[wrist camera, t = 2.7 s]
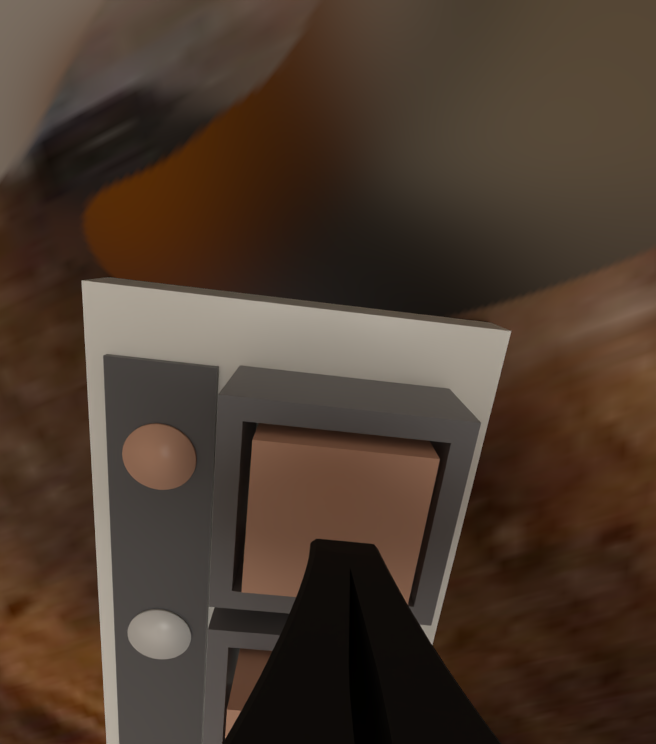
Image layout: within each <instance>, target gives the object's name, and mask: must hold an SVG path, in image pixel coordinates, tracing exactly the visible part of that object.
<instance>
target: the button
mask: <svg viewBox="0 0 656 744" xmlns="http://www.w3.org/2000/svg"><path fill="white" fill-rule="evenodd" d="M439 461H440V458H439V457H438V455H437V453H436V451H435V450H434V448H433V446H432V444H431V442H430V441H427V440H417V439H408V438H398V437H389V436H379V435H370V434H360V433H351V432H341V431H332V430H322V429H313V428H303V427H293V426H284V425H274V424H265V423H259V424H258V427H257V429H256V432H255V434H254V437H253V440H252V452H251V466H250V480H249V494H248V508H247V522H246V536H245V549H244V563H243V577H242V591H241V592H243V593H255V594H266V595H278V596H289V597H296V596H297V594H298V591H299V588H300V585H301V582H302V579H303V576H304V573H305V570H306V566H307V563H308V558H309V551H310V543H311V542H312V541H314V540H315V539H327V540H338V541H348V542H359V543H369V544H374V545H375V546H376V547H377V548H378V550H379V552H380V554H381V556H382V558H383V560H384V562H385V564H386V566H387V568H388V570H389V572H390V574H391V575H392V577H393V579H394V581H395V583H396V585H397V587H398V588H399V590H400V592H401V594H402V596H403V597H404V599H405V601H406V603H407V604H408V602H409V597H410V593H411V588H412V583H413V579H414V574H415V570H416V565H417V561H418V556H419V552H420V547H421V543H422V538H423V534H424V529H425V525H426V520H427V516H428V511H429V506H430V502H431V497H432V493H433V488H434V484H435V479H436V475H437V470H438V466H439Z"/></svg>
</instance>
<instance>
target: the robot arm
mask: <svg viewBox="0 0 656 744" xmlns="http://www.w3.org/2000/svg"><path fill="white" fill-rule="evenodd" d="M222 744H501V743H500V741H499V740H498V739H497V737H496V736H495V735H494V733H493V732H492V731H491V730H490V728H489V727H488V725H487V724H486V723H485V721H484V720H483V719H482V717H481V716H480V715H479V713H478V712H477V710H476V709H475V708H474V706H473V705H472V703H471V702H470V701H469V699H468V698H467V696H466V695H465V694H464V692H463V691H462V689H461V688H460V686H459V685H458V683H457V682H456V680H455V679H454V677H453V676H452V674H451V673H450V671H449V670H448V669H447V667H446V666H445V664H444V663H443V661H442V659H441V658H440V656H439V655H438V653H437V652H436V650H435V649H434V647H433V646H432V644H431V642H430V641H429V639H428V637H427V636H426V634H425V633H424V631H423V629H422V628H421V626H420V624H419V623H418V621H417V619H416V618H415V616H414V615H413V613H412V611H411V609H410V608H409V606H408V604H407V603H406V601H405V599H404V597H403V596H402V594H401V592H400V590H399V588H398V587H397V585H396V583H395V581H394V579H393V577H392V575H391V574H390V572H389V570H388V568H387V566H386V564H385V562H384V560H383V558H382V556H381V554H380V552H379V550H378V548H377V547H376V546H375V545H374V544H369V543H359V542H348V541H338V540H327V539H315V540H314V541H312V542H311V543H310V551H309V558H308V563H307V566H306V570H305V573H304V576H303V579H302V582H301V585H300V588H299V591H298V594H297V596H296V599H295V601H294V603H293V606H292V608H291V611H290V613H289V616H288V618H287V621H286V623H285V625H284V628H283V630H282V632H281V634H280V636H279V638H278V640H277V642H276V644H275V647H274V649H273V651H272V653H271V655H270V657H269V659H268V661H267V663H266V665H265V667H264V669H263V671H262V673H261V675H260V677H259V679H258V681H257V683H256V685H255V687H254V688H253V690H252V692H251V694H250V696H249V698H248V700H247V701H246V703H245V705H244V707H243V709H242V710H241V712H240V714H239V716H238V717H237V719H236V721H235V723H234V724H233V726H232V728H231V730H230V731H229V733H228V735H227V737H226V738H225V740H224V742H223V743H222Z"/></svg>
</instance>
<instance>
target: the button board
mask: <svg viewBox="0 0 656 744" xmlns="http://www.w3.org/2000/svg"><path fill="white" fill-rule="evenodd" d="M82 296H83V315H84V334H85V352H86V371H87V389H88V408H89V426H90V445H91V463H92V482H93V500H94V519H95V537H96V556H97V575H98V593H99V612H100V630H101V649H102V667H103V686H104V704H105V723H106V741H107V744H222V743H223V742H224V740H225V732H226V717H227V707H228V702H229V698H230V693H231V688H232V684H233V679H234V674H235V669H236V665H237V660H238V655H239V651H240V648H242V649H255V650H267V651H273V649H274V647H275V644H276V642H277V640H278V638H279V636H280V634H281V632H282V630H283V628H284V625H285V623H286V621H287V618H288V616H289V613H290V611H291V608H292V606H293V603H294V601H295V599H296V597H289V596H278V595H266V594H255V593H243V592H241V591H242V577H243V563H244V549H245V536H246V522H247V508H248V494H249V480H250V466H251V452H252V440H253V437H254V434H255V432H256V429H257V427H258V424H259V423H265V424H274V425H284V426H293V427H303V428H313V429H322V430H332V431H341V432H351V433H360V434H370V435H379V436H389V437H398V438H408V439H417V440H427V441H430V442H431V444H432V446H433V448H434V450H435V451H436V453H437V455H438V457H439V458H440V461H439V466H438V470H437V475H436V479H435V484H434V488H433V493H432V497H431V502H430V506H429V511H428V516H427V520H426V525H425V529H424V534H423V538H422V543H421V547H420V552H419V556H418V561H417V565H416V570H415V574H414V579H413V583H412V588H411V593H410V597H409V602H408V606H409V608H410V609H411V611H412V613H413V615H414V616H415V618H416V619H417V621H418V623H419V624H420V626H421V628H422V629H423V631H424V633H425V634H426V636H427V637H428V639H429V641H430V642H431V644H433V640H434V636H435V632H436V628H437V624H438V620H439V616H440V612H441V608H442V604H443V600H444V596H445V592H446V588H447V584H448V580H449V576H450V573H451V569H452V565H453V561H454V557H455V553H456V549H457V545H458V541H459V537H460V533H461V529H462V525H463V521H464V517H465V513H466V509H467V505H468V501H469V497H470V493H471V489H472V485H473V481H474V477H475V473H476V469H477V465H478V461H479V457H480V453H481V449H482V445H483V441H484V437H485V433H486V429H487V425H488V421H489V417H490V413H491V410H492V406H493V402H494V398H495V394H496V390H497V386H498V382H499V378H500V374H501V370H502V366H503V362H504V358H505V354H506V350H507V346H508V342H509V338H510V334H511V331H510V330H507V329H505V328H502V327H500V326H498V325H495V324H493V323H490V322H482V321H474V320H465V319H457V318H448V317H440V316H432V315H423V314H415V313H406V312H397V311H389V310H381V309H373V308H364V307H356V306H347V305H339V304H330V303H322V302H313V301H305V300H297V299H288V298H280V297H271V296H263V295H254V294H246V293H237V292H229V291H221V290H213V289H204V288H196V287H187V286H179V285H170V284H162V283H153V282H145V281H137V280H128V279H120V278H112V277H108V278H99V279H90V280H82Z"/></svg>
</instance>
